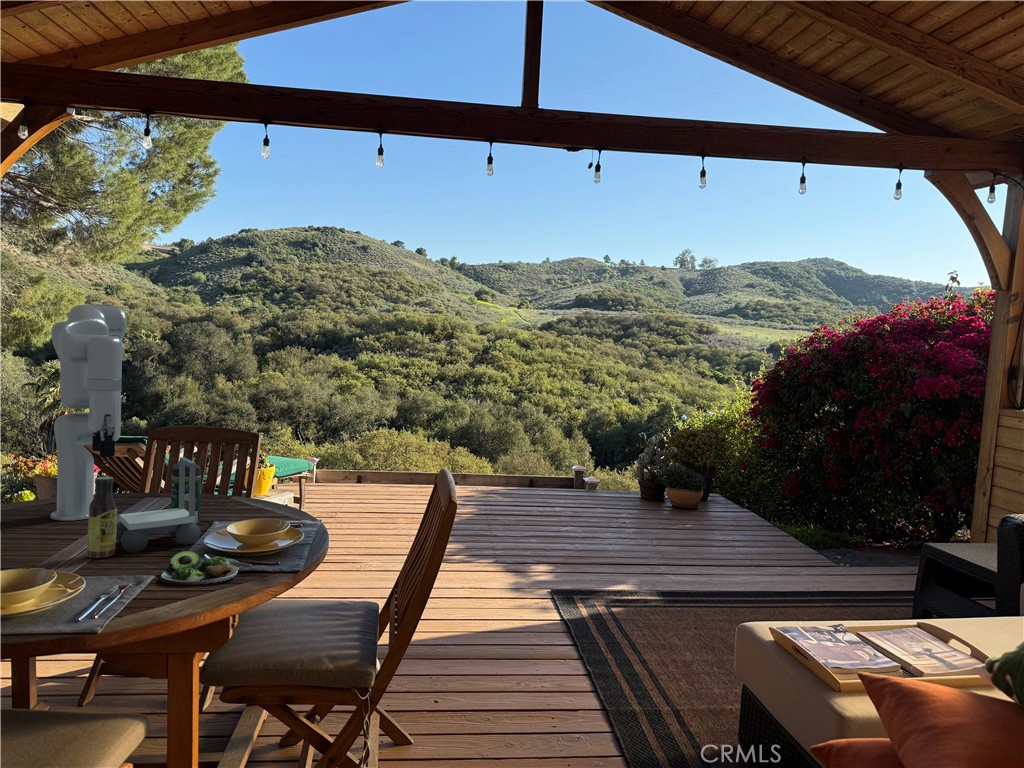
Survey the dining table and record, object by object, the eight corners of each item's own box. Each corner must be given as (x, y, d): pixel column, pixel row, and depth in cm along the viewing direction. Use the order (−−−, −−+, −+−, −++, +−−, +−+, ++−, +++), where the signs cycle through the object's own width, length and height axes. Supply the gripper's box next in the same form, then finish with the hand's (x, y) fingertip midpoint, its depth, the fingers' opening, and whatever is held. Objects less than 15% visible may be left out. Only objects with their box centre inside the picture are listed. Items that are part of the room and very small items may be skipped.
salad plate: (256, 562, 177) (257, 544, 177) (245, 586, 159) (246, 566, 159) (174, 564, 173) (174, 546, 172) (153, 589, 155) (154, 568, 155)
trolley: (112, 543, 187) (113, 461, 186) (187, 533, 199) (189, 456, 198) (122, 554, 178) (123, 468, 177) (200, 543, 190) (201, 462, 189)
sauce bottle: (102, 560, 172) (103, 481, 171) (81, 558, 173) (81, 479, 172) (122, 553, 178) (123, 476, 178) (101, 551, 180) (102, 474, 179)
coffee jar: (168, 521, 212) (169, 460, 211) (196, 518, 216) (197, 459, 215) (173, 528, 204) (174, 465, 203) (202, 525, 208) (203, 464, 207)
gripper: (81, 383, 178) (80, 449, 179) (93, 388, 165) (92, 460, 166) (114, 383, 183) (113, 447, 184) (128, 388, 170) (127, 458, 171)
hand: (103, 453), depth 175 cm, fingers open, 9 cm apart
